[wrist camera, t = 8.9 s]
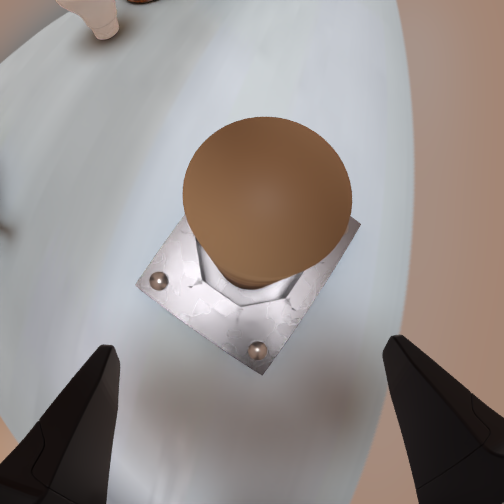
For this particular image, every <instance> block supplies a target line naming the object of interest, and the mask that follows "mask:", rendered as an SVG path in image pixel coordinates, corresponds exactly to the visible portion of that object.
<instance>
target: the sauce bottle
mask: <svg viewBox="0 0 504 504" xmlns="http://www.w3.org/2000/svg"><path fill="white" fill-rule="evenodd" d="M127 1H130V2H139V3H146V2H149V1H152V0H127Z"/></svg>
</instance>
